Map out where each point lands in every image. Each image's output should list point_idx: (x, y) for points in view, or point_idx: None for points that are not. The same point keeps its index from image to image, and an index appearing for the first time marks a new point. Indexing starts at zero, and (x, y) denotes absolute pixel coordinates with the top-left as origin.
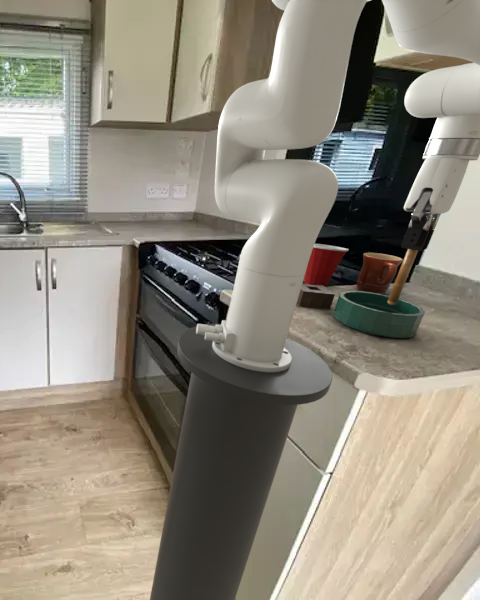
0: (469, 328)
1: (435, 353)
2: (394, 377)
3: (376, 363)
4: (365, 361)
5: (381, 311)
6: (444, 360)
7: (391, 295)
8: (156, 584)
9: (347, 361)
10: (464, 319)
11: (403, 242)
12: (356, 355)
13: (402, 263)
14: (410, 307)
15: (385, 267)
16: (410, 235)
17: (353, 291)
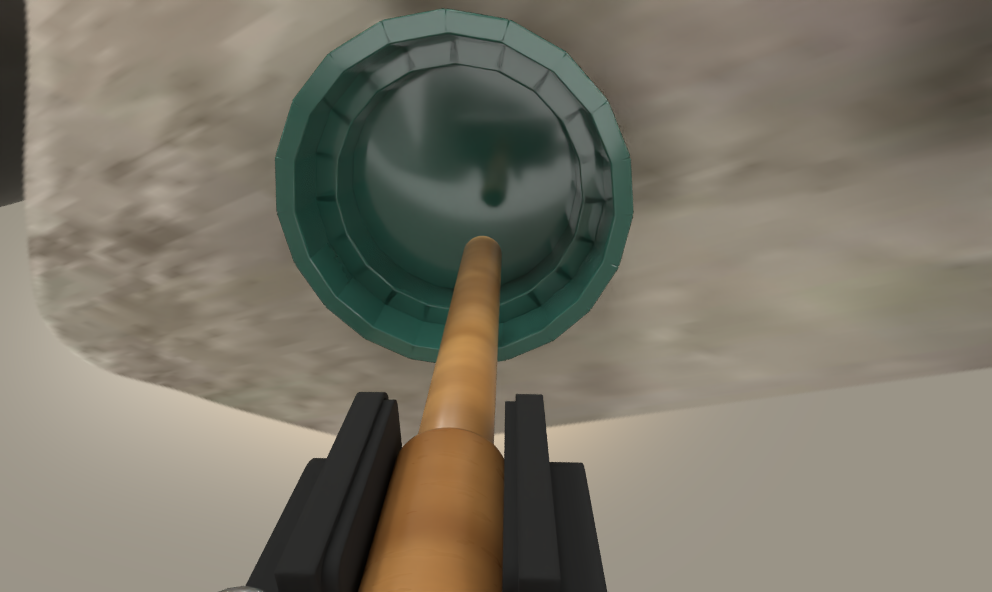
0: (796, 385)
1: (400, 379)
2: (108, 365)
3: (135, 316)
4: (111, 295)
5: (303, 268)
6: None
7: (461, 259)
8: None
9: (49, 268)
10: (923, 355)
11: (346, 428)
12: (119, 266)
13: (448, 342)
14: (573, 294)
15: None
16: (275, 540)
17: (522, 44)
